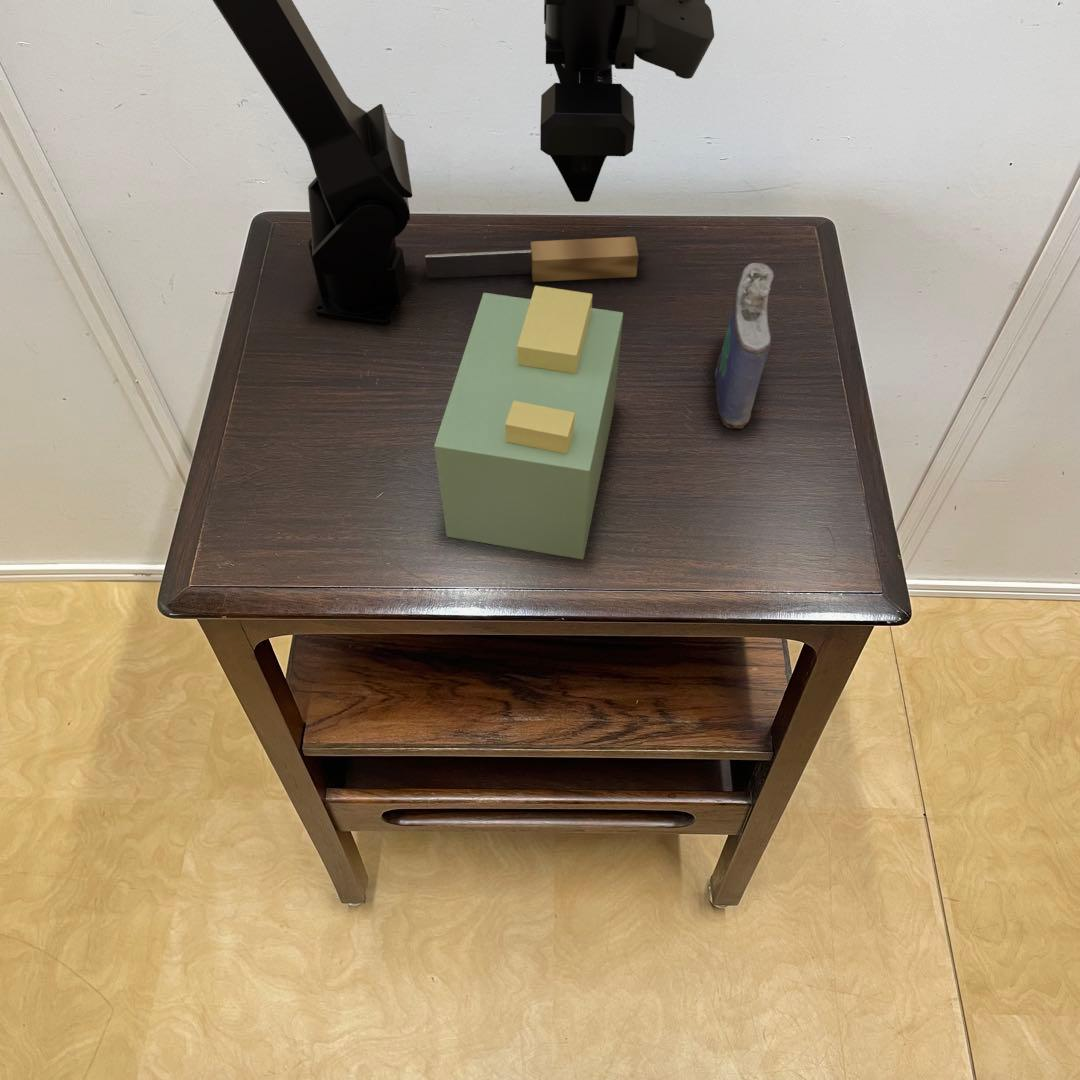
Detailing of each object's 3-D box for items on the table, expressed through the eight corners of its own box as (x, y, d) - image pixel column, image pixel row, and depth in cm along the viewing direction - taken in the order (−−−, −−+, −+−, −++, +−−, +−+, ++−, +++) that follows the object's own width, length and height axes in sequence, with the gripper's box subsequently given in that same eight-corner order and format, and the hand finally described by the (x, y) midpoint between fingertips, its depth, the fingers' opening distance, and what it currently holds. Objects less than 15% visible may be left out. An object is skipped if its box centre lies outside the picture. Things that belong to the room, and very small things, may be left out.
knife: (632, 258, 88) (635, 236, 86) (636, 277, 86) (638, 255, 84) (427, 268, 87) (425, 246, 85) (428, 287, 86) (425, 265, 83)
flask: (749, 432, 77) (777, 332, 68) (711, 427, 77) (734, 327, 68) (753, 345, 82) (779, 241, 73) (717, 341, 82) (739, 238, 73)
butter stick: (517, 365, 67) (516, 346, 65) (535, 304, 70) (535, 285, 68) (576, 374, 66) (577, 355, 65) (591, 312, 69) (592, 293, 68)
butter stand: (446, 537, 72) (433, 445, 63) (489, 391, 79) (483, 292, 70) (583, 560, 71) (590, 470, 62) (613, 411, 78) (623, 311, 69)
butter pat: (505, 442, 63) (504, 424, 61) (513, 418, 64) (513, 400, 63) (567, 454, 62) (567, 436, 61) (574, 430, 64) (575, 412, 62)
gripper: (727, 37, 59) (693, 245, 72) (705, -115, 69) (678, 91, 82) (540, 35, 59) (539, 242, 72) (545, -117, 69) (544, 89, 83)
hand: (581, 161), depth 77 cm, fingers open, 9 cm apart
